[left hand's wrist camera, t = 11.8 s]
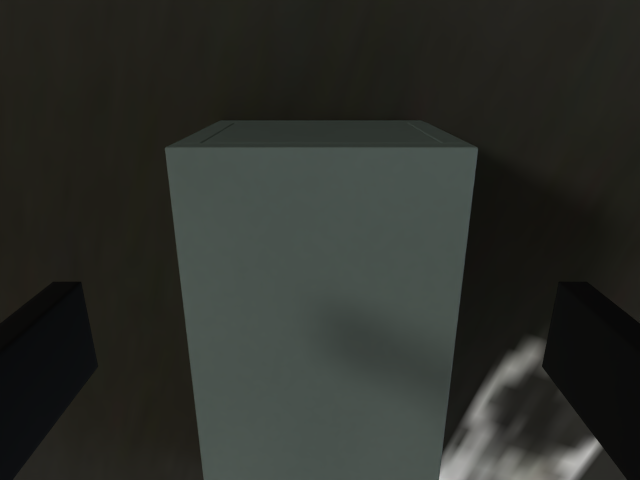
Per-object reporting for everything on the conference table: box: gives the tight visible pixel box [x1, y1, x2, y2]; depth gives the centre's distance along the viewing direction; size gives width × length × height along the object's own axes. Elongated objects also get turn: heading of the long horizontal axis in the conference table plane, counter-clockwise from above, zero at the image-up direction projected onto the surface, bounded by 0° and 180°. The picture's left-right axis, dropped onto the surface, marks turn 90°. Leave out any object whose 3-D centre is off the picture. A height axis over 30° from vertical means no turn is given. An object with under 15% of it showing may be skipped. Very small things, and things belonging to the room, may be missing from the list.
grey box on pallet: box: [165, 120, 478, 480], centre depth 24 cm, size 17×11×10 cm, turn 0°
